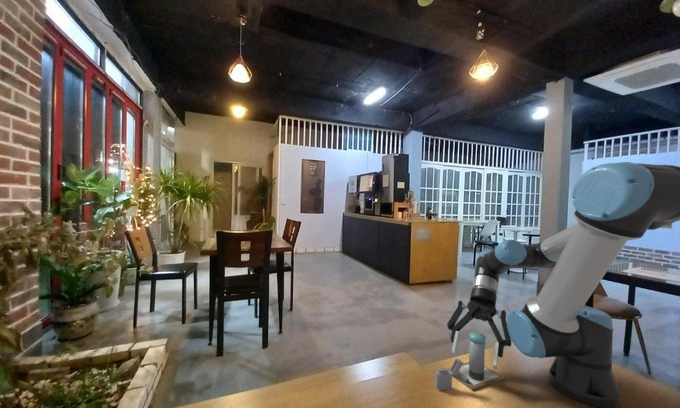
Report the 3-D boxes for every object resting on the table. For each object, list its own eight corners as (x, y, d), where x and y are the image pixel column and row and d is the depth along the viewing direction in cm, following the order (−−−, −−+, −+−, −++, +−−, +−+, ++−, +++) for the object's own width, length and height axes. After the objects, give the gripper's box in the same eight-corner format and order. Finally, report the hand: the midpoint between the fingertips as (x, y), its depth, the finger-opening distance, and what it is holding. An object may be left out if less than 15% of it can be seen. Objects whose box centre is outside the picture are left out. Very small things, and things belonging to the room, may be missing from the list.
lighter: (436, 390, 77) (437, 360, 77) (434, 386, 78) (435, 357, 78) (462, 390, 77) (463, 361, 77) (459, 386, 79) (460, 357, 79)
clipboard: (504, 379, 82) (504, 374, 82) (472, 391, 77) (473, 385, 77) (475, 362, 91) (475, 357, 91) (445, 371, 86) (445, 365, 86)
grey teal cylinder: (487, 378, 81) (488, 337, 81) (477, 382, 79) (478, 339, 79) (475, 370, 85) (476, 331, 85) (465, 374, 83) (466, 333, 83)
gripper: (524, 306, 89) (520, 380, 76) (450, 291, 102) (435, 352, 89) (524, 294, 85) (520, 370, 72) (446, 279, 98) (431, 342, 85)
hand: (473, 360), depth 81 cm, fingers open, 10 cm apart
